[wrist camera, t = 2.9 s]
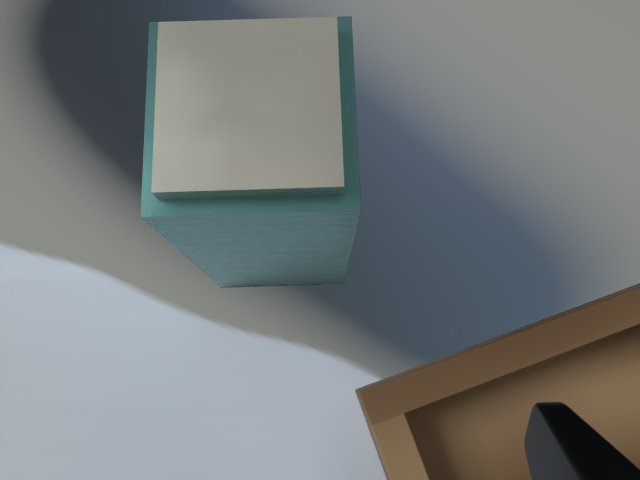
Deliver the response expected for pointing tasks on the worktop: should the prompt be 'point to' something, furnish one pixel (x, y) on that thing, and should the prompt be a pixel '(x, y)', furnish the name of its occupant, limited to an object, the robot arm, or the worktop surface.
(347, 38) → the tea tin
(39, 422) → the worktop surface
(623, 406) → the box
